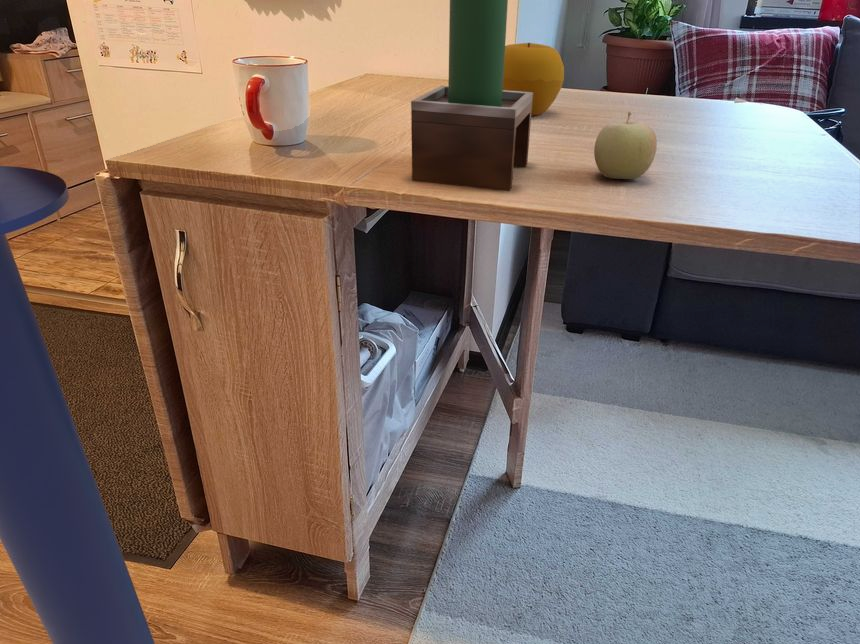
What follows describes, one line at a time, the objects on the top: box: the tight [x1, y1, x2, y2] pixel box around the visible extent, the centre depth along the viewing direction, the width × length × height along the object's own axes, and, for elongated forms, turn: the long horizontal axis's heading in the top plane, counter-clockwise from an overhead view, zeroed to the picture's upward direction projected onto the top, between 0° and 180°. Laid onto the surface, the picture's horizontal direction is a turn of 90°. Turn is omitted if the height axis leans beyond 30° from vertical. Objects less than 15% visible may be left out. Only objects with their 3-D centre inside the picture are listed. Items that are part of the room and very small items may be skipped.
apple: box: [503, 42, 565, 117], centre depth 111 cm, size 13×13×11 cm
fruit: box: [593, 111, 658, 180], centre depth 78 cm, size 8×7×8 cm
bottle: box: [447, 0, 509, 107], centre depth 71 cm, size 6×6×18 cm
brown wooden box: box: [410, 85, 533, 192], centre depth 77 cm, size 12×12×9 cm
